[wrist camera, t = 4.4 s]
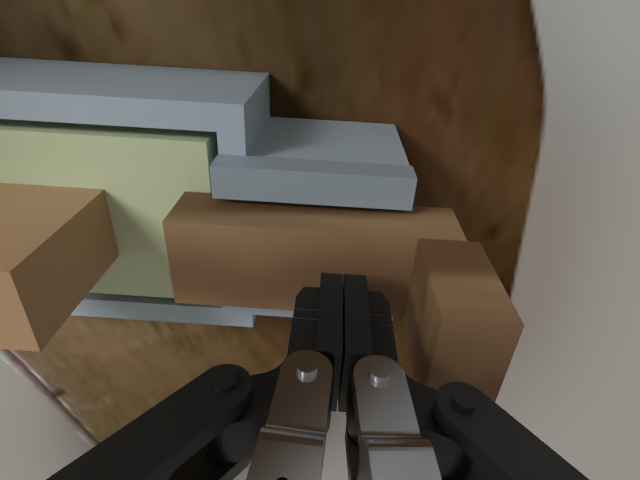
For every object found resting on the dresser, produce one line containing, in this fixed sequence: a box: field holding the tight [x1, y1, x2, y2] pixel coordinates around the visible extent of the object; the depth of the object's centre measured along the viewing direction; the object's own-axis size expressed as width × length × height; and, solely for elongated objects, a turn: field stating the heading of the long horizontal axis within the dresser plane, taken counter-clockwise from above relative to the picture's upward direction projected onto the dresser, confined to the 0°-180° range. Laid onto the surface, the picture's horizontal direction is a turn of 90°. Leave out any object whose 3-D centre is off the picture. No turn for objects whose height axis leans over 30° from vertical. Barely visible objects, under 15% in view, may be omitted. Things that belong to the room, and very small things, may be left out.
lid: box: [0, 119, 218, 351], centre depth 16 cm, size 7×13×7 cm, turn 87°
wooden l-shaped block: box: [162, 191, 524, 402], centre depth 14 cm, size 3×10×6 cm, turn 87°
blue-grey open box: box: [0, 57, 417, 327], centre depth 19 cm, size 10×22×7 cm, turn 87°
